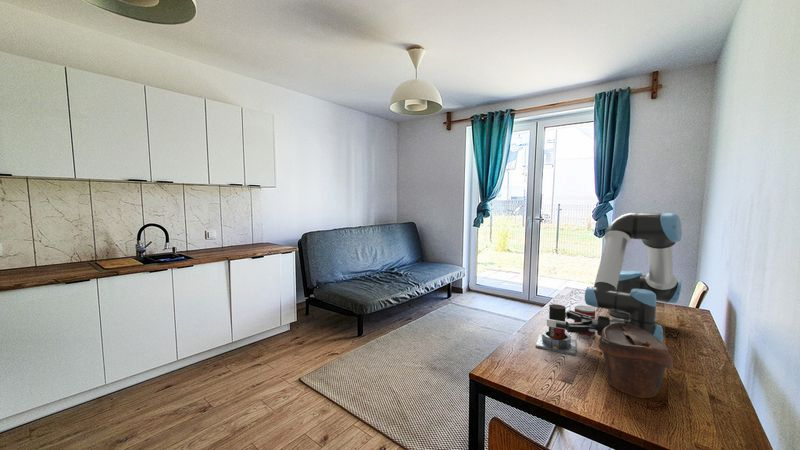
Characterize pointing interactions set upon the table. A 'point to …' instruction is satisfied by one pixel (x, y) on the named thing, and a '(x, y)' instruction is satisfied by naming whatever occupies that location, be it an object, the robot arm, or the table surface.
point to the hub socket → (556, 343)
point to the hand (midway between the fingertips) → (548, 317)
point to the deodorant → (557, 314)
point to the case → (634, 359)
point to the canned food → (586, 311)
